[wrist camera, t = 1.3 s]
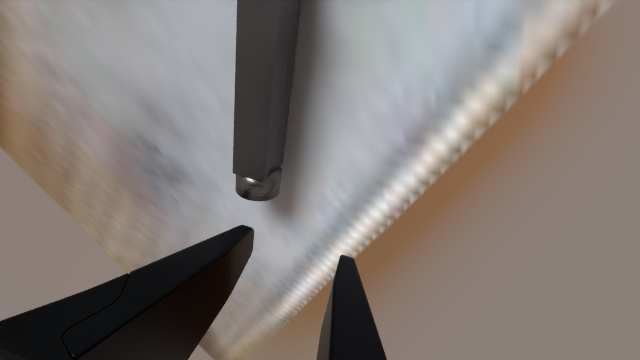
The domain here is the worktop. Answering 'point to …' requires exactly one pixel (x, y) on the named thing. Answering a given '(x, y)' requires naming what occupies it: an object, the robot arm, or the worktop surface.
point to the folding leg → (262, 93)
